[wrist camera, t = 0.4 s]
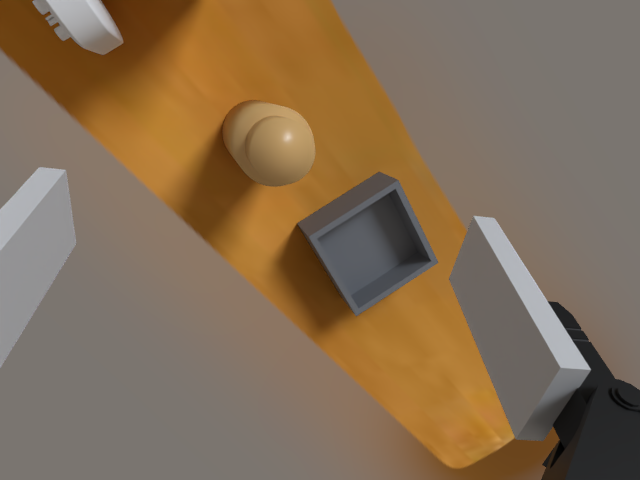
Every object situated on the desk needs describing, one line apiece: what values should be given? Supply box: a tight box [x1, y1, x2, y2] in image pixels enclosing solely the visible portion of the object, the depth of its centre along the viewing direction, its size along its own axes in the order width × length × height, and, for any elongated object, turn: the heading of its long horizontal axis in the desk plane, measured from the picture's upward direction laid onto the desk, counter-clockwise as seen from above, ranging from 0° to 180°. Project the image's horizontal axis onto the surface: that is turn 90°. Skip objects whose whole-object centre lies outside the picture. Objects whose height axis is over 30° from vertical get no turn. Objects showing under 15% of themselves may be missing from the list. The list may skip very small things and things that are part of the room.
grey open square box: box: [297, 172, 438, 316], centre depth 43 cm, size 8×8×4 cm
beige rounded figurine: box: [222, 100, 315, 186], centre depth 34 cm, size 5×5×12 cm
